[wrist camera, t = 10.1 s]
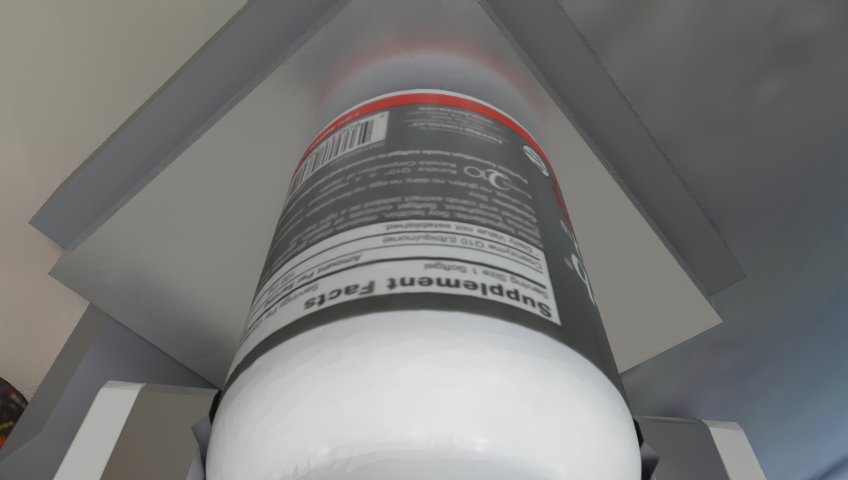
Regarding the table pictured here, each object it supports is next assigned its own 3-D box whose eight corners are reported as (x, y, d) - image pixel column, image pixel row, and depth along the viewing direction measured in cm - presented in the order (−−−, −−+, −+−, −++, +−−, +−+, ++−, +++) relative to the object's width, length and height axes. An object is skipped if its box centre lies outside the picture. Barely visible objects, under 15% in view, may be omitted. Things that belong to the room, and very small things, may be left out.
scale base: (432, -178, 14) (436, -133, 8) (720, 235, 20) (833, 419, 15) (4, 239, 21) (-157, 422, 15) (323, 454, 27) (296, 640, 21)
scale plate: (426, -78, 13) (426, -65, 12) (707, 291, 18) (722, 321, 17) (69, 244, 17) (47, 273, 16) (379, 462, 23) (377, 494, 22)
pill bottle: (534, 308, 16) (640, 849, 8) (300, 297, 16) (171, 839, 8) (580, 85, 13) (838, 630, 5) (285, 68, 13) (34, 605, 5)
